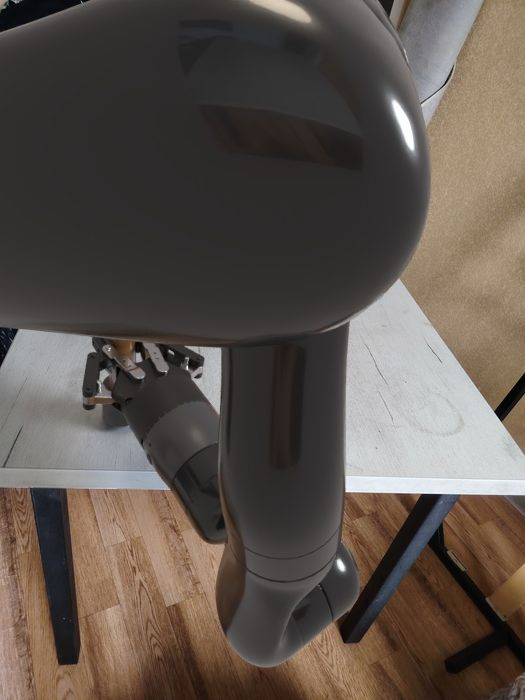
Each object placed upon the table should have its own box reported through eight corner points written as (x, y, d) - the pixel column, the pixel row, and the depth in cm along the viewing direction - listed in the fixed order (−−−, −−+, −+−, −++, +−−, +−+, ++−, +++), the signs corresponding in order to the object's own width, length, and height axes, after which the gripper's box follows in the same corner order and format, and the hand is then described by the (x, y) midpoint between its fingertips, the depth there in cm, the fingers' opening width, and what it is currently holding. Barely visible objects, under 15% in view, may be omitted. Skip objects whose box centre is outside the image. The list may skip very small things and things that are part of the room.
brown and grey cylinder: (105, 430, 57) (106, 304, 46) (98, 404, 60) (97, 280, 49) (142, 423, 59) (151, 301, 48) (134, 398, 62) (140, 278, 51)
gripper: (251, 385, 46) (170, 292, 56) (110, 431, 38) (45, 313, 48) (238, 436, 51) (165, 342, 61) (109, 487, 43) (50, 369, 53)
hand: (112, 330), depth 54 cm, fingers closed on brown and grey cylinder, 2 cm apart
